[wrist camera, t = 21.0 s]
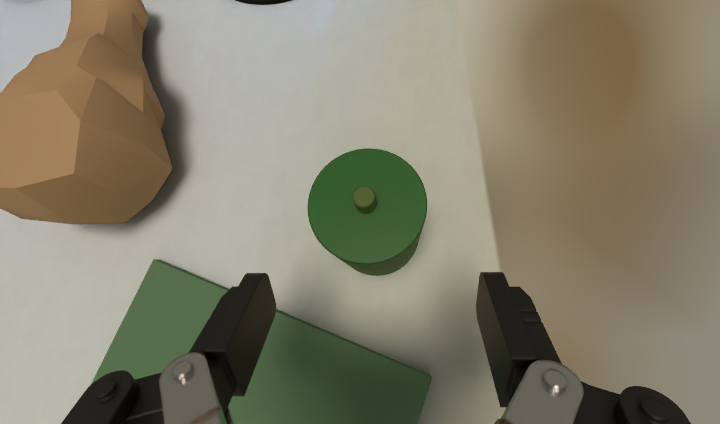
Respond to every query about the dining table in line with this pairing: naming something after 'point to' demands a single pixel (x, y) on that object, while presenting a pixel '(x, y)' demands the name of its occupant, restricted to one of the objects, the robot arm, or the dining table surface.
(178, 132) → the dining table surface
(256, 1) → the phone display stand
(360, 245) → the green knobbed canister
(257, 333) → the robot arm
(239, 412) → the towel
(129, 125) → the squash
